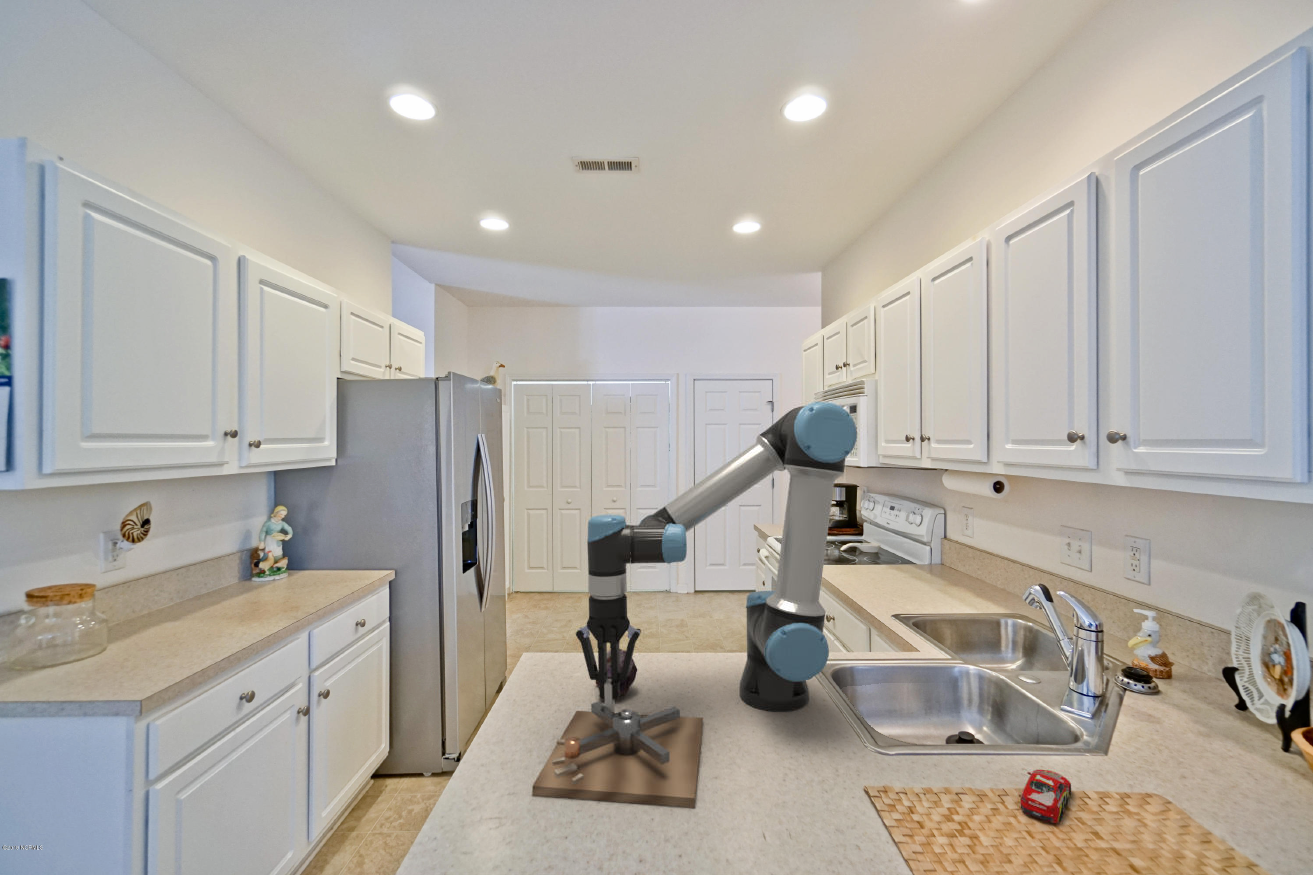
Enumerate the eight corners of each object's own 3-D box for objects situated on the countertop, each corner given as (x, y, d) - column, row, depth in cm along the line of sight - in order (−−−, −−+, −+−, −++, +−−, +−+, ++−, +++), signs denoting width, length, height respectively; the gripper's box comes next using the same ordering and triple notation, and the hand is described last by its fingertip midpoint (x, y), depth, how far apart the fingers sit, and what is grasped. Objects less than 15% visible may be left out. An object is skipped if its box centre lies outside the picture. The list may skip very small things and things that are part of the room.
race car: (1035, 778, 95) (1034, 754, 95) (1075, 792, 91) (1074, 766, 91) (1014, 814, 85) (1013, 787, 85) (1057, 831, 81) (1057, 802, 82)
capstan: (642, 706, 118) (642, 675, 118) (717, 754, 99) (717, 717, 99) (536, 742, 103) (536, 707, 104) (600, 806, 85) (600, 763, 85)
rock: (592, 708, 123) (638, 706, 123) (590, 672, 122) (637, 670, 122) (596, 678, 135) (638, 676, 135) (594, 644, 133) (637, 642, 134)
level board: (703, 725, 113) (702, 714, 113) (694, 807, 87) (694, 793, 87) (576, 717, 116) (576, 707, 116) (532, 795, 90) (532, 781, 90)
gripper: (643, 589, 114) (645, 707, 113) (580, 589, 116) (582, 705, 115) (637, 599, 106) (639, 725, 106) (570, 598, 108) (572, 722, 108)
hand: (609, 714), depth 111 cm, fingers closed
